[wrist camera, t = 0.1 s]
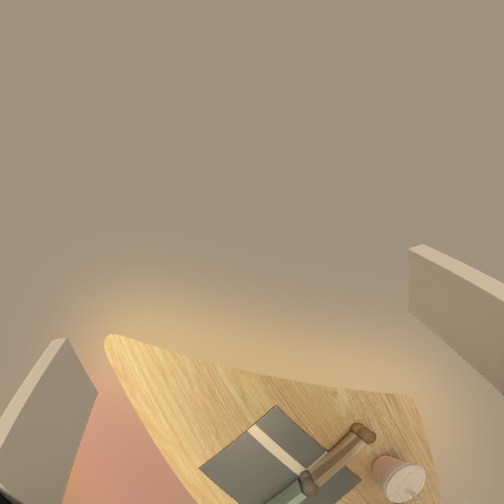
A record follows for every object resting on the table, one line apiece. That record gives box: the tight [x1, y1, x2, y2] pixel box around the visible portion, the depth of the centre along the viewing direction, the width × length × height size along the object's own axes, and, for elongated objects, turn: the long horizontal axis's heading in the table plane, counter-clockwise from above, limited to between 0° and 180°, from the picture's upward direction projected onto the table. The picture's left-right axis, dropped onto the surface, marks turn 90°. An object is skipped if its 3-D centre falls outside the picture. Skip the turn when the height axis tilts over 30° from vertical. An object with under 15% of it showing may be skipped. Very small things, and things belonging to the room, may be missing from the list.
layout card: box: [199, 405, 361, 504], centre depth 37 cm, size 20×16×1 cm
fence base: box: [299, 423, 376, 496], centre depth 35 cm, size 2×13×7 cm, turn 134°
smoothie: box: [372, 455, 426, 503], centre depth 31 cm, size 6×6×14 cm
